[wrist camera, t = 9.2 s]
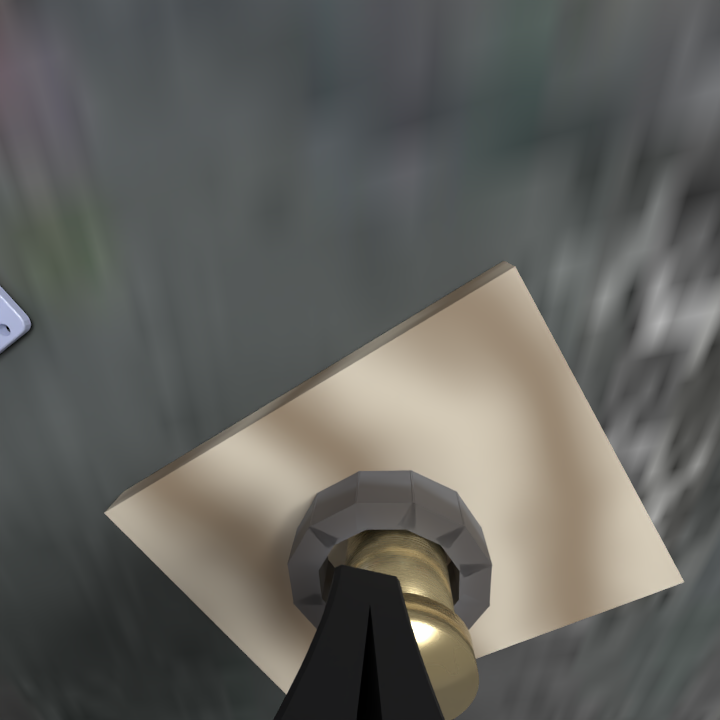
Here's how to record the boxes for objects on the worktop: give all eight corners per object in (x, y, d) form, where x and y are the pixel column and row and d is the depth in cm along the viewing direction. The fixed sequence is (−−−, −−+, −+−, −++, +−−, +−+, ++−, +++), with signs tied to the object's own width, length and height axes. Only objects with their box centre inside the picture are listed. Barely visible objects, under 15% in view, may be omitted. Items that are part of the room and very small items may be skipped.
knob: (377, 591, 20) (373, 747, 14) (318, 518, 18) (287, 656, 13) (471, 550, 18) (507, 703, 13) (414, 470, 17) (427, 599, 12)
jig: (315, 689, 25) (304, 764, 21) (123, 491, 20) (73, 546, 17) (663, 555, 20) (718, 625, 16) (503, 260, 16) (534, 276, 12)
